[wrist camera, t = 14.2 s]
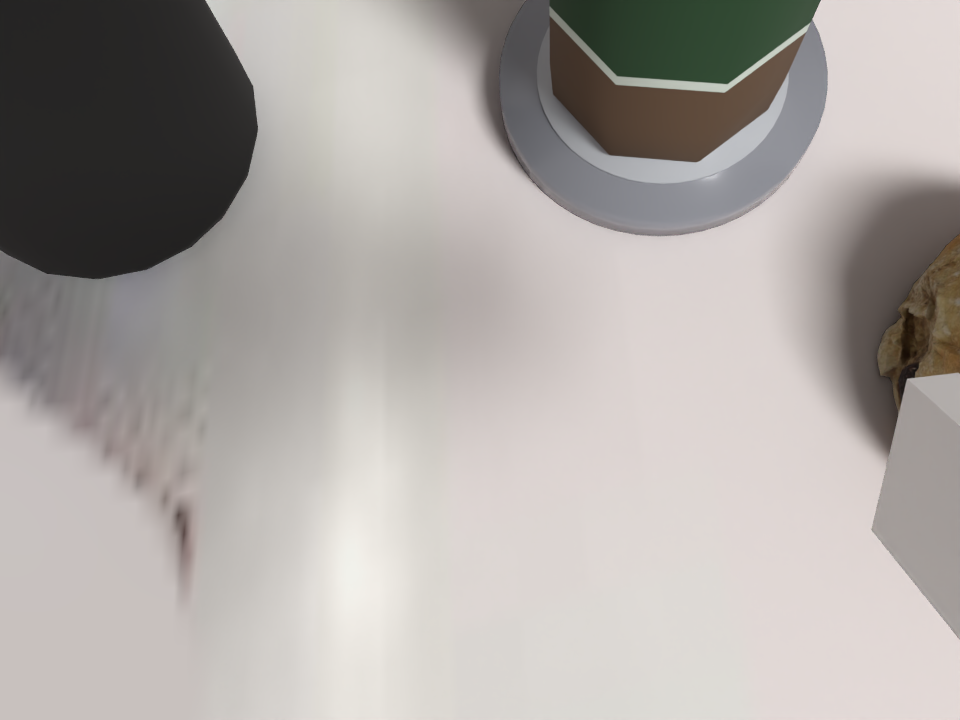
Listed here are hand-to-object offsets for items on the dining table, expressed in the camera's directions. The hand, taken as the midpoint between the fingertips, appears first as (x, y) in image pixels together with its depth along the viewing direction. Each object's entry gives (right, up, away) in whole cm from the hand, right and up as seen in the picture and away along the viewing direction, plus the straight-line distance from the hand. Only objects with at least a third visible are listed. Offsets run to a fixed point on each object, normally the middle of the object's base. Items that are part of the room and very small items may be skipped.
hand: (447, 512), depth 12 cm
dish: (+7, +12, +19) cm, 23 cm away
